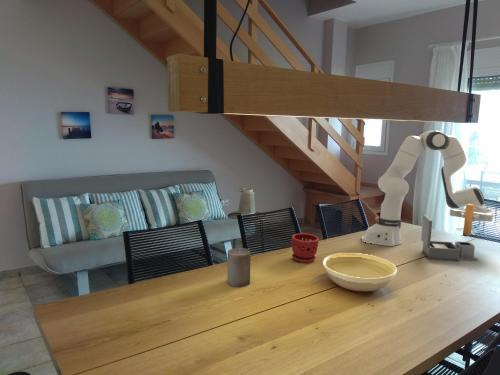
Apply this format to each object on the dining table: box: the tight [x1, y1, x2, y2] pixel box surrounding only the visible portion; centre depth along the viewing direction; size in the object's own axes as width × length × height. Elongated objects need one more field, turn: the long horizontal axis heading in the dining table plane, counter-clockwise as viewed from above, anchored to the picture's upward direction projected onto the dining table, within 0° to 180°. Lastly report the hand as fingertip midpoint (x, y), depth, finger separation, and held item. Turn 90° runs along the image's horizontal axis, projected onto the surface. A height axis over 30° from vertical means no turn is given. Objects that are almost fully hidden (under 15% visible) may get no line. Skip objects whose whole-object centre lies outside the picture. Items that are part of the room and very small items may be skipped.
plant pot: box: [291, 233, 320, 264], centre depth 190 cm, size 13×13×12 cm
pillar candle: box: [226, 247, 251, 288], centre depth 160 cm, size 10×10×15 cm
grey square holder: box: [454, 241, 478, 261], centre depth 200 cm, size 10×10×7 cm
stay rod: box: [462, 204, 474, 236], centre depth 202 cm, size 4×4×16 cm
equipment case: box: [420, 214, 460, 262], centre depth 200 cm, size 15×14×20 cm
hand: (468, 216), depth 201 cm, fingers closed on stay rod, 4 cm apart
